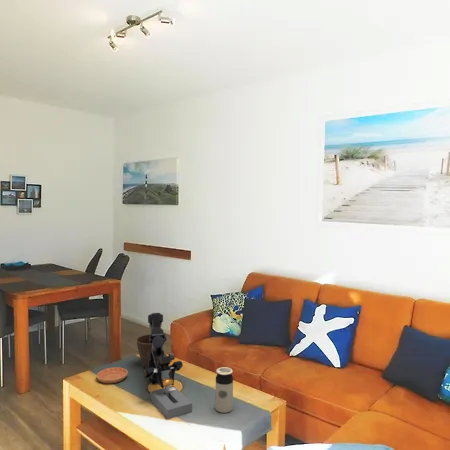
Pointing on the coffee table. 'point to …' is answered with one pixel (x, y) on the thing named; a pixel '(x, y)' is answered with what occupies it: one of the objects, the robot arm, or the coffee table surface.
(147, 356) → the plant pot
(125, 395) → the coffee table surface
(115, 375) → the saucer
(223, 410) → the travel mug
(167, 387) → the lever handle
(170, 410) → the block
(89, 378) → the coffee table surface
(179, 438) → the coffee table surface
